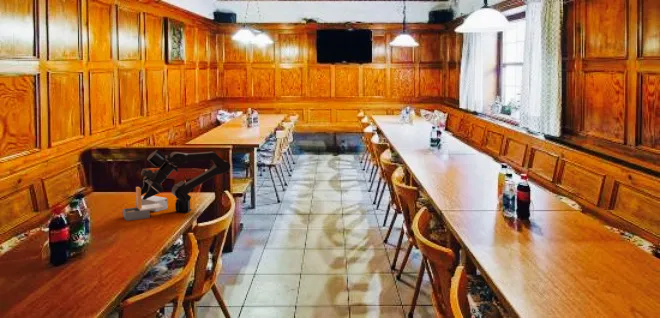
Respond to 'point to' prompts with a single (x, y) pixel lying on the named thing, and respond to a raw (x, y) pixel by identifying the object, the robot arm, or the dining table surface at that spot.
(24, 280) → the dining table surface
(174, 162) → the robot arm
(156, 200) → the skincare box
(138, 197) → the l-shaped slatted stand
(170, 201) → the dining table surface
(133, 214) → the gray open box
